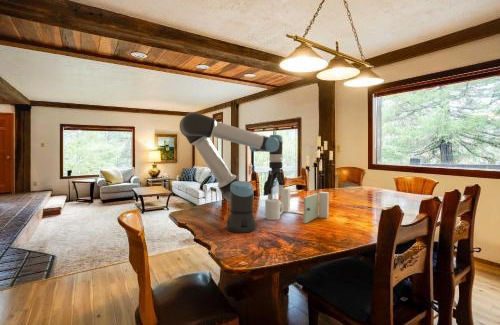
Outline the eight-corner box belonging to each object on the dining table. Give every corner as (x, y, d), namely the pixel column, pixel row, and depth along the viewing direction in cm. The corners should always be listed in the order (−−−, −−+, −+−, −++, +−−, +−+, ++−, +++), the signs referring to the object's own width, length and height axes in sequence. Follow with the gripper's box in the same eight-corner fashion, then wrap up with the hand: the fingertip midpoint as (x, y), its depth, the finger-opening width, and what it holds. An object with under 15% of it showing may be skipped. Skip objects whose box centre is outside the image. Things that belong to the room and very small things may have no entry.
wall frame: (280, 211, 173) (281, 188, 172) (282, 210, 175) (283, 188, 175) (326, 218, 157) (327, 193, 156) (328, 217, 160) (329, 192, 159)
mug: (287, 218, 156) (287, 200, 155) (270, 221, 150) (270, 202, 150) (279, 215, 163) (279, 197, 163) (262, 217, 158) (262, 199, 157)
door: (308, 224, 143) (308, 196, 142) (303, 224, 145) (303, 195, 144) (320, 217, 158) (321, 191, 157) (316, 217, 160) (317, 191, 159)
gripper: (271, 162, 142) (271, 202, 144) (290, 160, 164) (290, 194, 165) (259, 162, 146) (259, 200, 148) (279, 160, 168) (279, 193, 169)
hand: (275, 197), depth 156 cm, fingers open, 13 cm apart
